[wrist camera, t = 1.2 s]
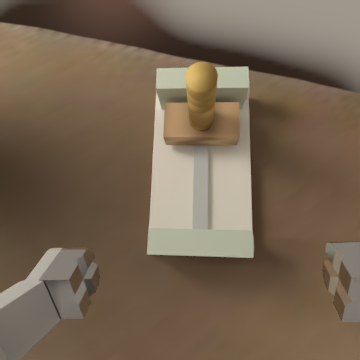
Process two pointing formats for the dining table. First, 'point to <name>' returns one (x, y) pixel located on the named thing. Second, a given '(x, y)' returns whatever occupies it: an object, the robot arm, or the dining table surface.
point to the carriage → (201, 112)
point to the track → (201, 179)
